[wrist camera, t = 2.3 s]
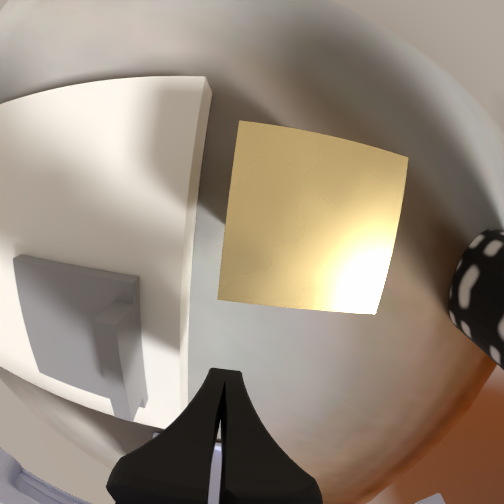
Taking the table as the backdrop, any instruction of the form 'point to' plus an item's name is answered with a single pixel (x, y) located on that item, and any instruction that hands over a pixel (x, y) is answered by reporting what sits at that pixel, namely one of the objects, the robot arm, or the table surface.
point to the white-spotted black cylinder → (481, 294)
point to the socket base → (107, 213)
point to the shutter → (85, 329)
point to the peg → (309, 220)
